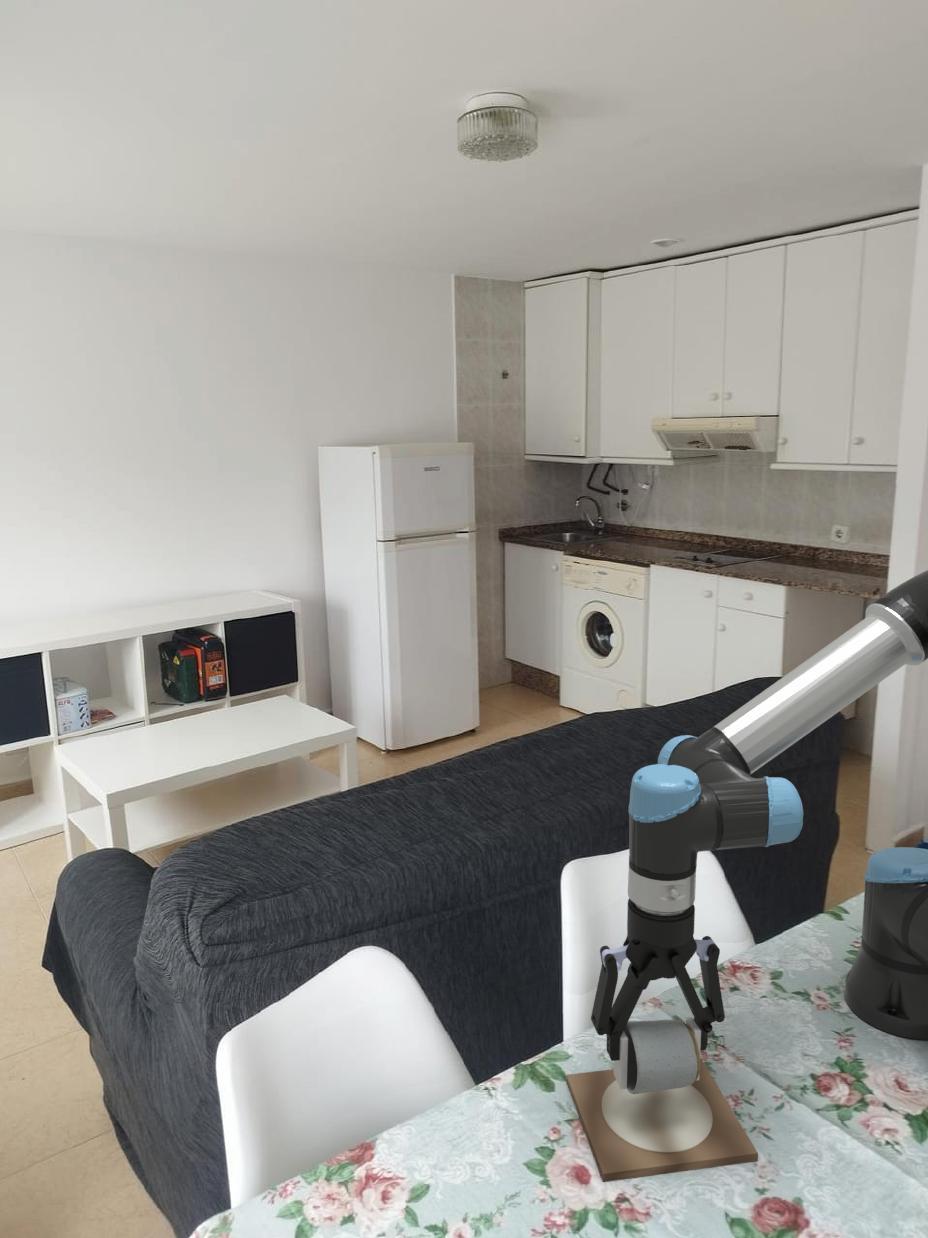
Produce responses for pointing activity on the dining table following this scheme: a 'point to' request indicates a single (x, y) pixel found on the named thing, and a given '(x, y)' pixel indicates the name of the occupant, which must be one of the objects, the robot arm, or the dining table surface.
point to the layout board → (657, 1126)
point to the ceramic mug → (661, 1056)
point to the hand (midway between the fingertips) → (656, 1077)
